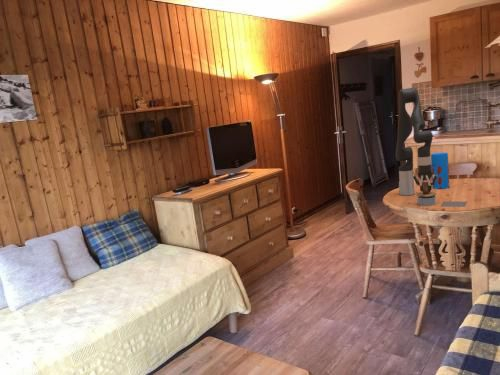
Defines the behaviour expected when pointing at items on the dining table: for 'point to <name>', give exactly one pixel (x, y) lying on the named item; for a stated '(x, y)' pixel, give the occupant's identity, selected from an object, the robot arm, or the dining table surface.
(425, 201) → the bowl
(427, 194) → the lid
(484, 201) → the dining table surface
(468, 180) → the dining table surface
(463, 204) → the coaster
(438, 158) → the blue box
